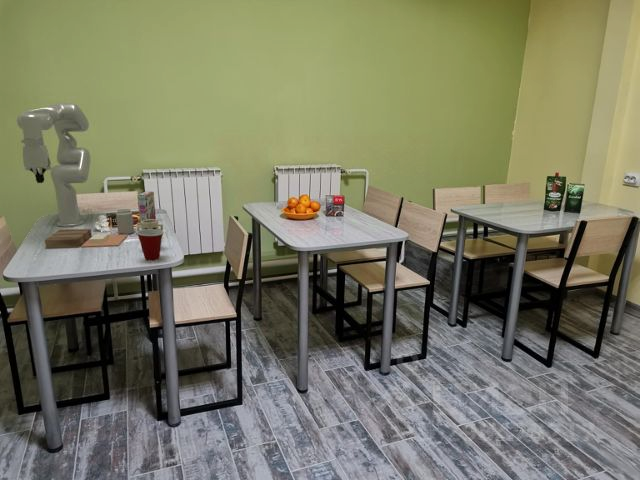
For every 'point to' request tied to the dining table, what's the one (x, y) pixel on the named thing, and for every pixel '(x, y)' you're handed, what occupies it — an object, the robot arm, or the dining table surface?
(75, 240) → the brown flat block
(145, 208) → the candy bar box
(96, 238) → the tile
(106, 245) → the mat
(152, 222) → the character mug
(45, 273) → the dining table surface
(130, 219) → the can
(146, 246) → the plastic cup
